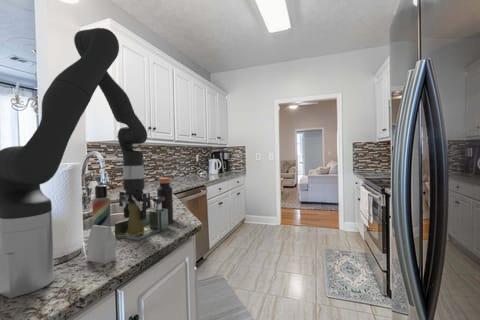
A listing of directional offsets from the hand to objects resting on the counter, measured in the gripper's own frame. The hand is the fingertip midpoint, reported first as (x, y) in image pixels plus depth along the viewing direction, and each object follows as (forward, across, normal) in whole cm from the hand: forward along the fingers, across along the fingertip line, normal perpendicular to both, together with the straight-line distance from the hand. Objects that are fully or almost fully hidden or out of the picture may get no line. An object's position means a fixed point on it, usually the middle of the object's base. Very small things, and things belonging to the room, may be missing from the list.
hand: (134, 218), depth 90 cm
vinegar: (+6, -2, +19) cm, 20 cm away
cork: (+5, 0, 0) cm, 5 cm away
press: (+6, +1, +3) cm, 7 cm away
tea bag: (+6, +9, -20) cm, 23 cm away
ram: (+1, +5, +8) cm, 9 cm away
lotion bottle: (+6, -8, -8) cm, 13 cm away
